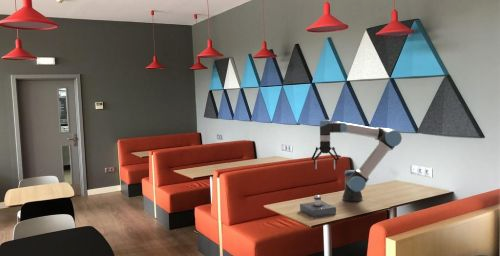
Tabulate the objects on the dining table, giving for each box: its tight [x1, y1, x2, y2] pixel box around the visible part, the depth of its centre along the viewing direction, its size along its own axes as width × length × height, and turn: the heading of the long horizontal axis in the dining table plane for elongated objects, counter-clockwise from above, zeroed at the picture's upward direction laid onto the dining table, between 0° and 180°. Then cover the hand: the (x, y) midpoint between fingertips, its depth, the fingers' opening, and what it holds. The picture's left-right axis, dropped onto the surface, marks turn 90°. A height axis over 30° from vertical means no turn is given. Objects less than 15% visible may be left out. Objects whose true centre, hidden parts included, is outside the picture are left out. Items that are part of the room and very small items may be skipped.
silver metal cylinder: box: [313, 194, 322, 207], centre depth 285 cm, size 5×5×12 cm
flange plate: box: [299, 200, 337, 219], centre depth 285 cm, size 18×18×5 cm
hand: (325, 169), depth 305 cm, fingers open, 13 cm apart
